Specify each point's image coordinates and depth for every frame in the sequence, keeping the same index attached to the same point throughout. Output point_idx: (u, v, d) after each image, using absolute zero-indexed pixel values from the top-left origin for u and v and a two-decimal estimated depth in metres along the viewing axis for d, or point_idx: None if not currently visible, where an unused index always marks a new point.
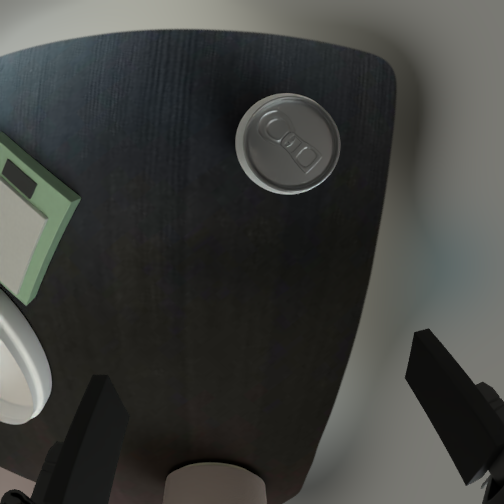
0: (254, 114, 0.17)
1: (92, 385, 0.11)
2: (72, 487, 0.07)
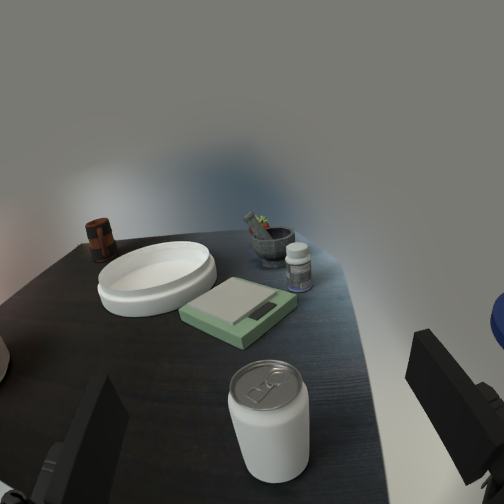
0: (286, 363, 0.25)
1: (92, 385, 0.11)
2: (72, 487, 0.07)
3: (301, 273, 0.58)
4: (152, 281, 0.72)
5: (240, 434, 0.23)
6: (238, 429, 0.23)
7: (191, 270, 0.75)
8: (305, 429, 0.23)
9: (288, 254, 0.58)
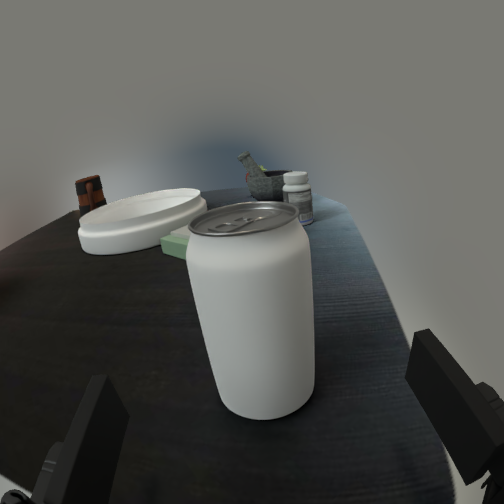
0: (274, 202, 0.18)
1: (92, 385, 0.11)
2: (72, 487, 0.07)
3: (300, 202, 0.51)
4: None
5: (202, 307, 0.16)
6: (198, 296, 0.16)
7: None
8: (307, 305, 0.16)
9: (285, 181, 0.51)
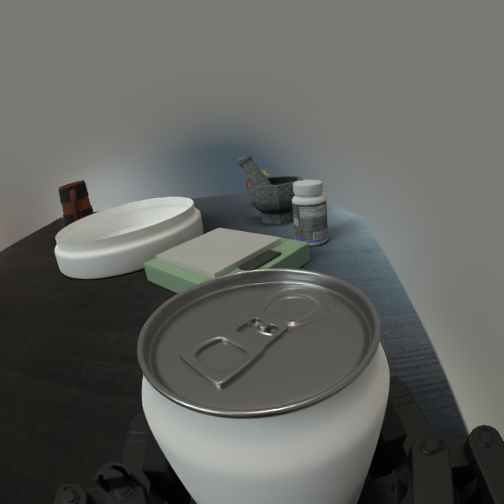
0: (316, 273, 0.09)
1: None
2: None
3: (314, 218, 0.42)
4: None
5: (181, 480, 0.07)
6: (172, 467, 0.07)
7: None
8: (369, 464, 0.07)
9: (296, 192, 0.42)
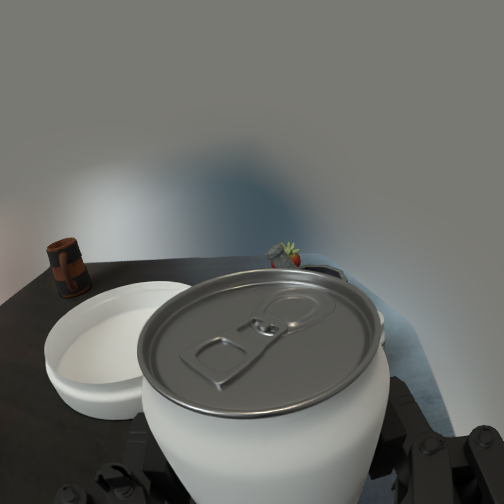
0: (316, 273, 0.09)
1: None
2: None
3: None
4: (127, 343, 0.46)
5: (181, 480, 0.07)
6: (172, 467, 0.07)
7: None
8: (370, 465, 0.07)
9: None
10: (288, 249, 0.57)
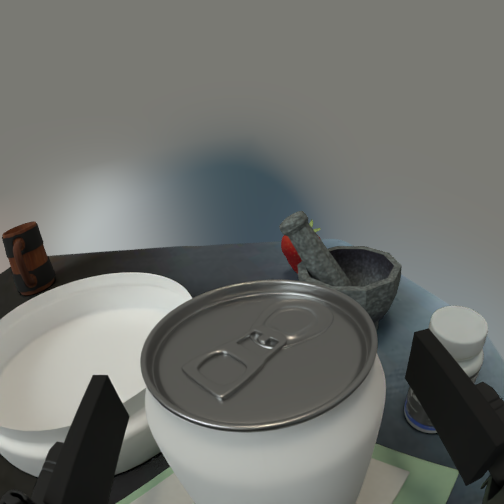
0: (315, 285, 0.09)
1: (92, 385, 0.11)
2: (72, 487, 0.07)
3: None
4: (80, 359, 0.30)
5: (183, 485, 0.07)
6: (175, 473, 0.07)
7: None
8: (366, 470, 0.07)
9: None
10: None
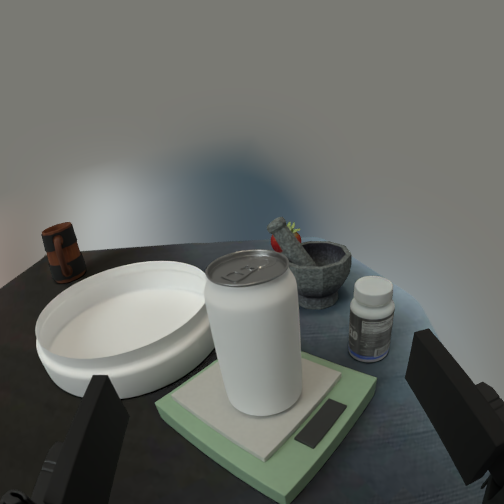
0: (271, 251, 0.23)
1: (92, 385, 0.11)
2: (72, 487, 0.07)
3: (379, 334, 0.30)
4: (122, 324, 0.44)
5: (217, 333, 0.21)
6: (214, 325, 0.21)
7: (182, 309, 0.47)
8: (295, 331, 0.21)
9: (360, 300, 0.30)
10: None
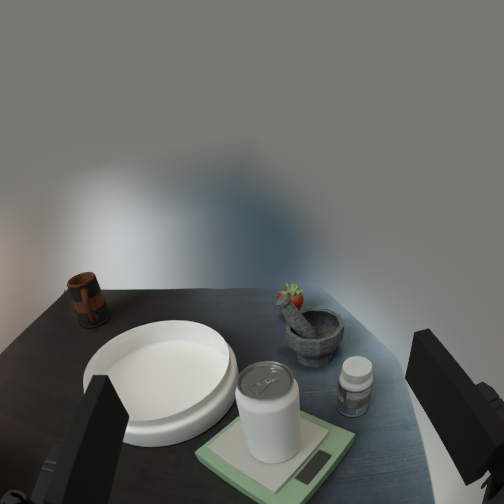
0: (281, 364, 0.32)
1: (92, 385, 0.11)
2: (72, 487, 0.07)
3: (360, 400, 0.38)
4: (153, 377, 0.52)
5: (244, 420, 0.29)
6: (243, 416, 0.29)
7: (203, 363, 0.55)
8: (296, 417, 0.30)
9: (346, 378, 0.38)
10: (292, 289, 0.64)
